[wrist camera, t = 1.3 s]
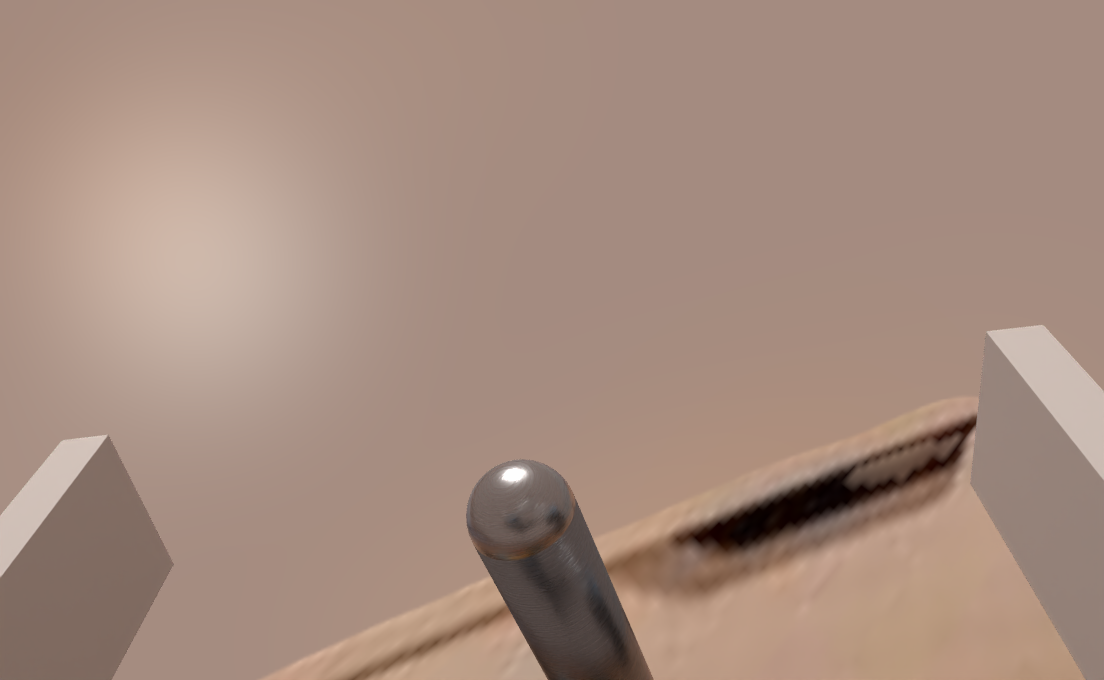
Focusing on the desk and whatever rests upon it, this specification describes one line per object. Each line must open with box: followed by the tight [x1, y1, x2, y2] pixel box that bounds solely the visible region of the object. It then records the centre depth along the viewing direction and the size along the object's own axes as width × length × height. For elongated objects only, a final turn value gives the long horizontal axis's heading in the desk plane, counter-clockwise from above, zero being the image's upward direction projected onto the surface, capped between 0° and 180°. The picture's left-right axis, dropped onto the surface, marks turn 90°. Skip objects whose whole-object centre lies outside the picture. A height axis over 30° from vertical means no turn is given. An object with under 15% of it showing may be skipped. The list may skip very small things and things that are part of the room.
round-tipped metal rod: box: [466, 460, 654, 680], centre depth 28 cm, size 3×3×18 cm
